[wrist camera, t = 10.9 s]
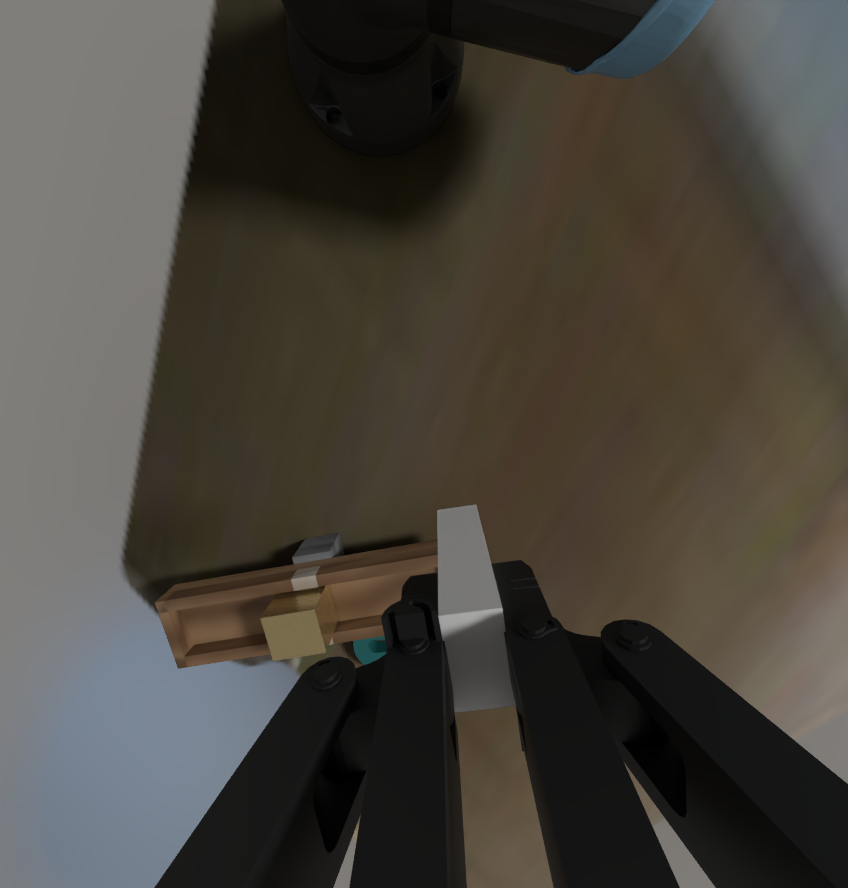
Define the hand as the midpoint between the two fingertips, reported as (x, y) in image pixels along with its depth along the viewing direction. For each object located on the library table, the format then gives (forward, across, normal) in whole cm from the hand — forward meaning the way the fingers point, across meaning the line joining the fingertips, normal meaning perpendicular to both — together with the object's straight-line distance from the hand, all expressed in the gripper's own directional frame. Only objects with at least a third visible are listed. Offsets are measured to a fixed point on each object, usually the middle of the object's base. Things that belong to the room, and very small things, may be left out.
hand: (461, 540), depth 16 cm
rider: (+23, -16, -16) cm, 32 cm away
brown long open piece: (+29, -16, -16) cm, 36 cm away
